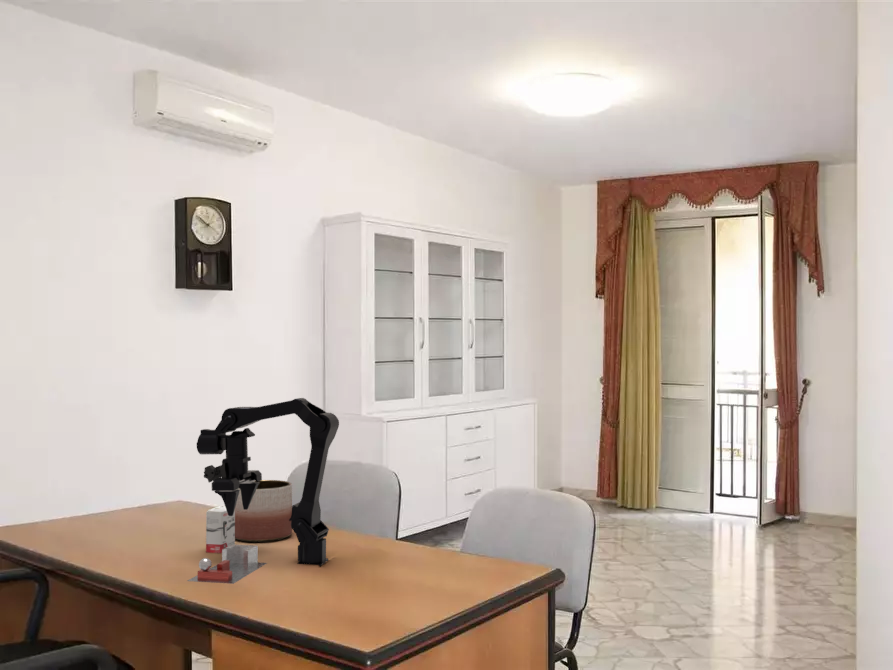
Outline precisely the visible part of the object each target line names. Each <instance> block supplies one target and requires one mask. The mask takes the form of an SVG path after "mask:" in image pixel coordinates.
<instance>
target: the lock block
mask: <svg viewBox="0 0 893 670" xmlns="http://www.w3.org/2000/svg"><path fill="white" fill-rule="evenodd" d="M258 547H259V546H258V545H256V544H255V545H253V544H252V545H251V544H236V543H235V544H232V545H230V546H228V547H226V548H224V549H222V553H221V558H222V559H221V562H222V561H224V560H228V561H230V565H232V564H234V563H240V564H243V568H244V569H248V568H250V567H251V566H253V565H255V564H257V563H258V562H259V561H258V559H259V557H258V555H259V554H258V550H259V549H258Z"/></svg>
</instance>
